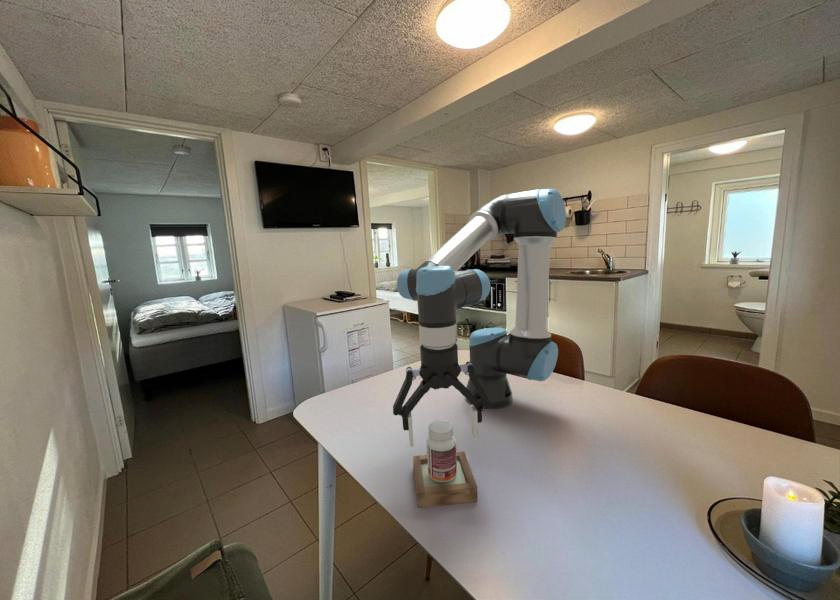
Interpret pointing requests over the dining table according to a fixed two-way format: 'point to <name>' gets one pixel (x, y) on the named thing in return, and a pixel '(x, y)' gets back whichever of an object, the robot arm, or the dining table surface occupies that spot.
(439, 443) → the pill bottle
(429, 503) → the holder
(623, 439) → the dining table surface
